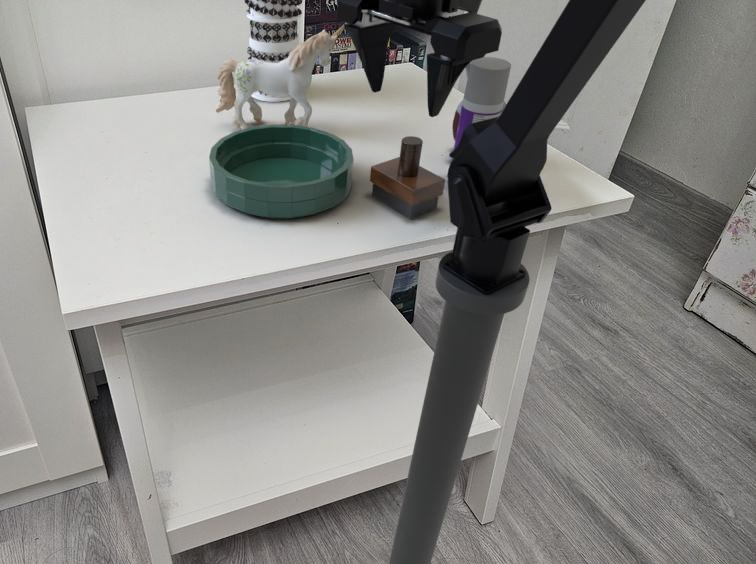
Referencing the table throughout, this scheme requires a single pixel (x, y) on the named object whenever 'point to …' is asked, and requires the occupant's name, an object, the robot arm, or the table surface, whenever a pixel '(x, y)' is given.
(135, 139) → the table surface
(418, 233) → the table surface
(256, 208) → the wash bowl
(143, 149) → the table surface
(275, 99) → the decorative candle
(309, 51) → the unicorn figurine
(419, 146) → the scrub brush
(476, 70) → the container
